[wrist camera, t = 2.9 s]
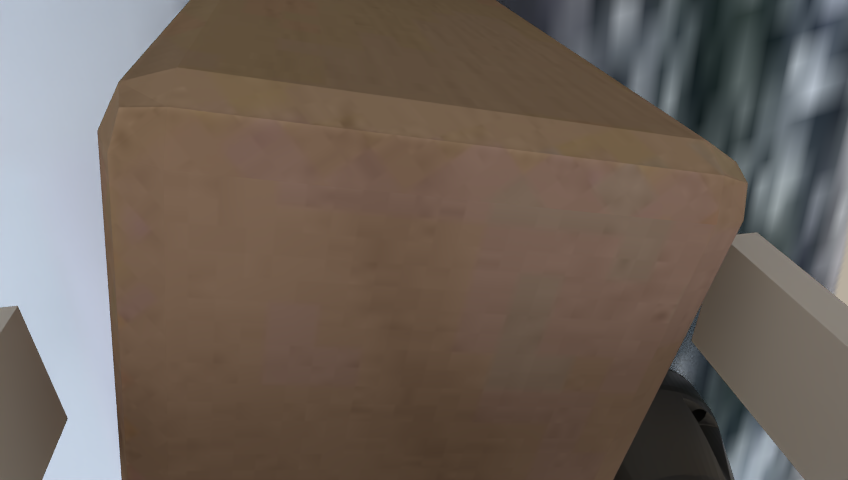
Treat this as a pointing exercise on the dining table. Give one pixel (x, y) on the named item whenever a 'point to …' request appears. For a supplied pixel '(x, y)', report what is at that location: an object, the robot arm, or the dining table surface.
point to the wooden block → (394, 246)
